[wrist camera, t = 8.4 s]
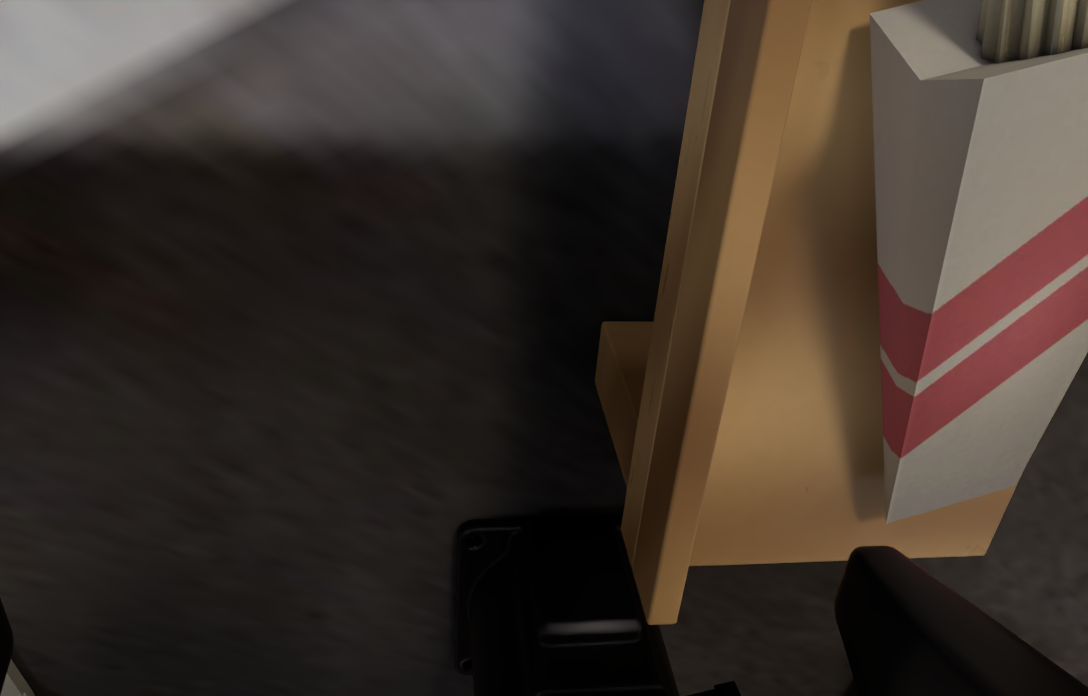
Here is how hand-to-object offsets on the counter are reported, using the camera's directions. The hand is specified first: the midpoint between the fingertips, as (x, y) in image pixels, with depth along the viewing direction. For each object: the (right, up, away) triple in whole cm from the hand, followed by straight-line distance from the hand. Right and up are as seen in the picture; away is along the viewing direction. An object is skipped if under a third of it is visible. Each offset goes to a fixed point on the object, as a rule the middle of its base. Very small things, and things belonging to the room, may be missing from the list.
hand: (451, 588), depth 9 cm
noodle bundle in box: (+7, +8, +3) cm, 11 cm away
